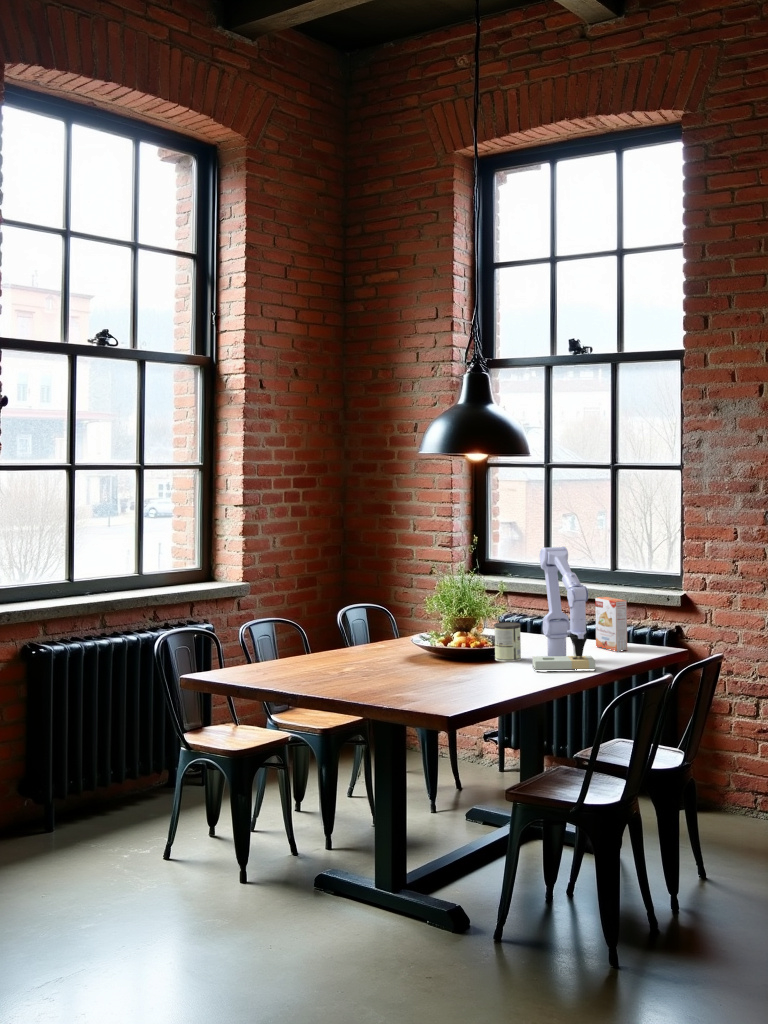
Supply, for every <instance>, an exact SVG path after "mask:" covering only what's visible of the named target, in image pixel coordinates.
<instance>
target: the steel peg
mask: <svg viewBox="0 0 768 1024" xmlns="http://www.w3.org/2000/svg"><path fill="white" fill-rule="evenodd" d="M572 649H573V656H574V660H577V659H582V656H583V655H582V656H576V653H575V647H574V643H573V644H572Z"/></svg>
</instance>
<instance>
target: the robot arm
mask: <svg viewBox="0 0 768 1024" xmlns="http://www.w3.org/2000/svg"><path fill="white" fill-rule="evenodd" d="M568 551H569V550H568V549H567V547H566V546H558V547H557V546H556V547H555V546H554V547H542V548H540V551H539V565H540V569H542V570H543V571H544V576H545V578H544V579H545V587H546V594H547V604H548V605H547V606H548V613H547V614H545V616H544V617H543V618H542V633H543V635H544V636H545V637H547V656H567V638H568V637H569V638H570V640H571V644H572V645H573V643H574V647H575V653H576V656H583V654H584V647H585V644H586V642H587V639H588V638H587V637H586V634H587V630H586V629H587V623H586V621H587V619H586V617H587V615H586V614H587V613H586V610H587V609H586V608H587V607H586V602H587V601H588V600H589V590H588V588H587V586H586V585H584V584H581V580H580V579H579V578H578V575H577V574H576V573H575V572H572V570H571V566H570V564H569V561H568V559H569V552H568ZM558 572H559V573H560V574H561V575H562V578H561V582H562V583H563V586H564V588H565V590H566V591H567V594H566V596H567V597H566V598H567V602H568V607H569V615H567V614H566V613H565V612H563V611H562V609H563V608H562V601H561V593H560V584H559V574H558Z"/></svg>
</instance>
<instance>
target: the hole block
mask: <svg viewBox="0 0 768 1024" xmlns="http://www.w3.org/2000/svg"><path fill="white" fill-rule="evenodd" d="M533 667H534V669H535V670H575V669H576V670H577V669H595V670H596V659H595V658H594V657H593V656H591V655H582V659H577V660H574V655H566V656H548V655H544V656H538V655H537V656H532V668H533ZM534 669H533V670H534ZM535 670H534V671H535Z"/></svg>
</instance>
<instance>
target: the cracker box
mask: <svg viewBox="0 0 768 1024" xmlns="http://www.w3.org/2000/svg"><path fill="white" fill-rule="evenodd" d="M594 599H595V607H594V609H595V647H596V646H597V647H596V648H599V647H602V648H601V649H603V648H606V649H605V650H607V649H611V650H615V651H621V650H627V651H628V602H627V600H626V599H620V598H616V597H615V598H614V597H610V596H598V597H595V598H594ZM611 650H610V651H611ZM621 652H622V651H621Z"/></svg>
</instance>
